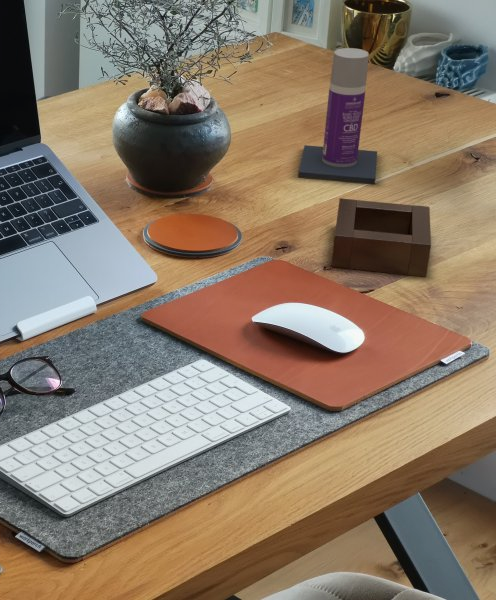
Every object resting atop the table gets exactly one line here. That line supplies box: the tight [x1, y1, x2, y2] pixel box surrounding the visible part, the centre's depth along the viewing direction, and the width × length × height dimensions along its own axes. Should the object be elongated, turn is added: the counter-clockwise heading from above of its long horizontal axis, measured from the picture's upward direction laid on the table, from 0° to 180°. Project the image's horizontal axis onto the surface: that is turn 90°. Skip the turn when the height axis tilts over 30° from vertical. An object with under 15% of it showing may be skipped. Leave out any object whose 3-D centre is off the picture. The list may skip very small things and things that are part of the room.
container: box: [322, 47, 370, 167], centre depth 148 cm, size 5×5×15 cm
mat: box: [297, 144, 378, 185], centre depth 151 cm, size 10×10×1 cm
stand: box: [330, 197, 432, 278], centre depth 128 cm, size 10×10×4 cm
